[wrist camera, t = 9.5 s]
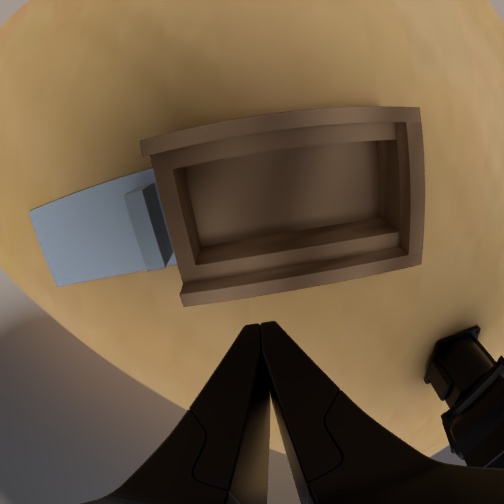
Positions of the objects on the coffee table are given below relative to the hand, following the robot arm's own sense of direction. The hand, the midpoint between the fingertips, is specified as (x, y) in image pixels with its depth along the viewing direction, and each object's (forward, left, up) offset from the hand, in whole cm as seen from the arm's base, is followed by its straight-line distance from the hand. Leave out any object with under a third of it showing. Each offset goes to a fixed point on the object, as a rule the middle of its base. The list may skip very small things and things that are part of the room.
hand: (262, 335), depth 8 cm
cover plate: (+11, -1, -12) cm, 16 cm away
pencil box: (-3, -1, -12) cm, 12 cm away
